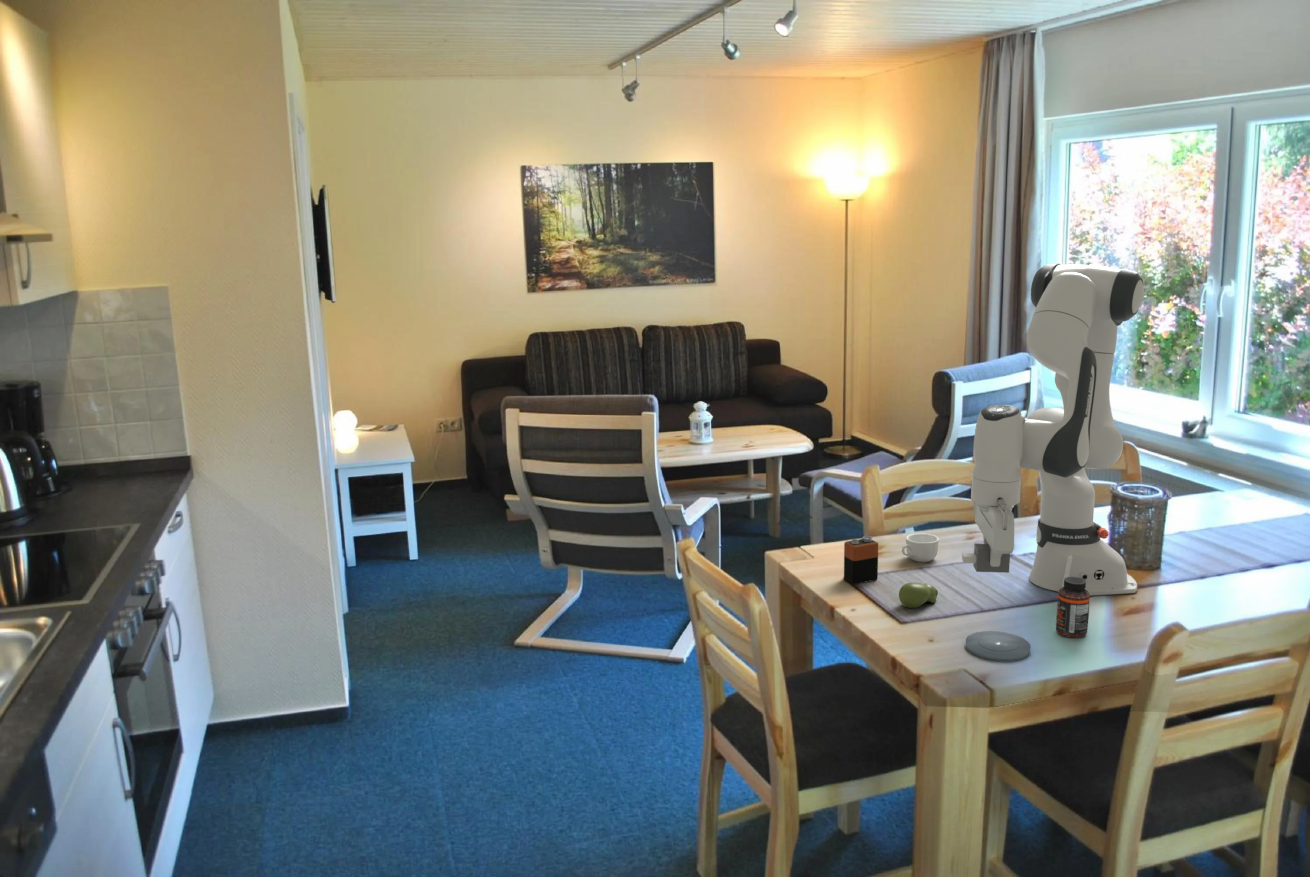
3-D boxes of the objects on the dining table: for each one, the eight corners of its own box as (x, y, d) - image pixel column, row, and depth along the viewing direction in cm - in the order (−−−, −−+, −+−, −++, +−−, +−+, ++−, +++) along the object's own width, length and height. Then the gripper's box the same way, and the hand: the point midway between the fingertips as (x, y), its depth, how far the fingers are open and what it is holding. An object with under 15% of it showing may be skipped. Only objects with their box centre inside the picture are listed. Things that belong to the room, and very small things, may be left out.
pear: (895, 580, 224) (925, 577, 230) (891, 604, 224) (921, 601, 230) (915, 587, 219) (945, 584, 225) (912, 612, 220) (942, 608, 226)
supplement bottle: (1050, 628, 211) (1053, 575, 208) (1078, 626, 211) (1082, 573, 209) (1063, 640, 205) (1067, 585, 202) (1093, 638, 205) (1096, 584, 203)
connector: (1005, 566, 201) (1006, 544, 200) (1009, 572, 198) (1010, 550, 197) (961, 565, 202) (962, 543, 201) (964, 571, 199) (965, 549, 198)
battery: (878, 580, 240) (879, 538, 237) (853, 584, 237) (854, 543, 235) (867, 574, 244) (868, 533, 241) (842, 578, 241) (843, 537, 239)
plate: (1022, 636, 207) (1022, 630, 207) (1037, 662, 196) (1037, 656, 195) (960, 635, 208) (960, 629, 208) (971, 660, 197) (972, 654, 197)
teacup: (923, 552, 258) (924, 531, 257) (945, 561, 251) (945, 539, 250) (891, 559, 254) (892, 537, 252) (912, 568, 247) (913, 546, 246)
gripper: (1025, 507, 186) (1020, 580, 189) (1002, 478, 206) (998, 544, 209) (988, 506, 187) (985, 579, 190) (969, 477, 207) (966, 544, 210)
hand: (991, 561), depth 200 cm, fingers closed on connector, 3 cm apart
